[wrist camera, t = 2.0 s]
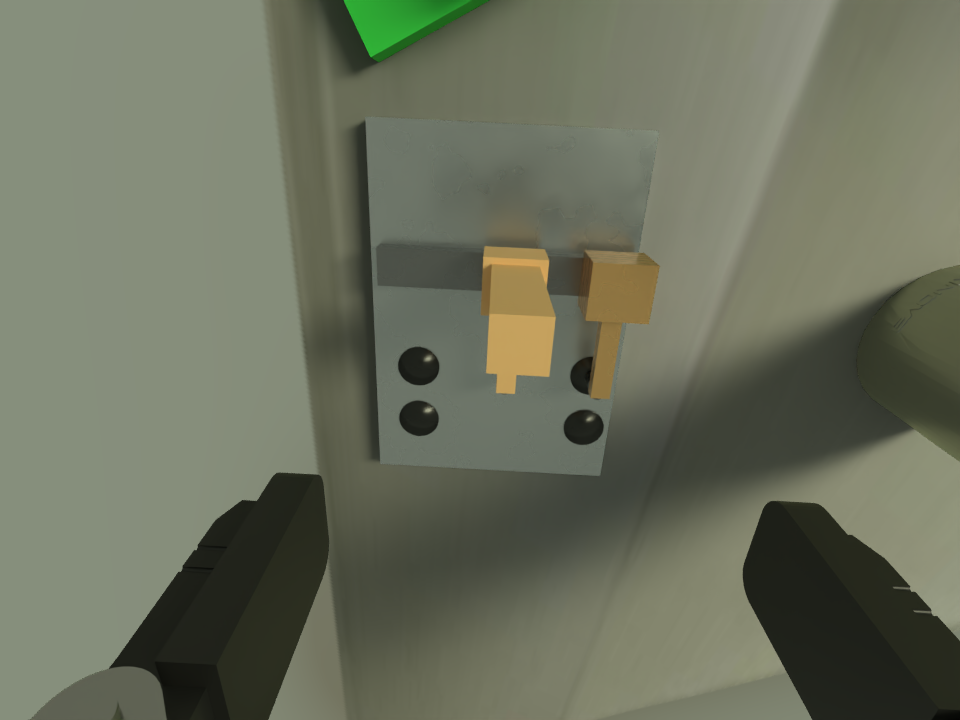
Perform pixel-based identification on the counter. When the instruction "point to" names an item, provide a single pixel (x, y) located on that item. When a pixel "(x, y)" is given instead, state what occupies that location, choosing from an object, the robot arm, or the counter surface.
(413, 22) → the mechanical part
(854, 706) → the robot arm
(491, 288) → the leg
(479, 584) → the counter surface
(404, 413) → the plate
